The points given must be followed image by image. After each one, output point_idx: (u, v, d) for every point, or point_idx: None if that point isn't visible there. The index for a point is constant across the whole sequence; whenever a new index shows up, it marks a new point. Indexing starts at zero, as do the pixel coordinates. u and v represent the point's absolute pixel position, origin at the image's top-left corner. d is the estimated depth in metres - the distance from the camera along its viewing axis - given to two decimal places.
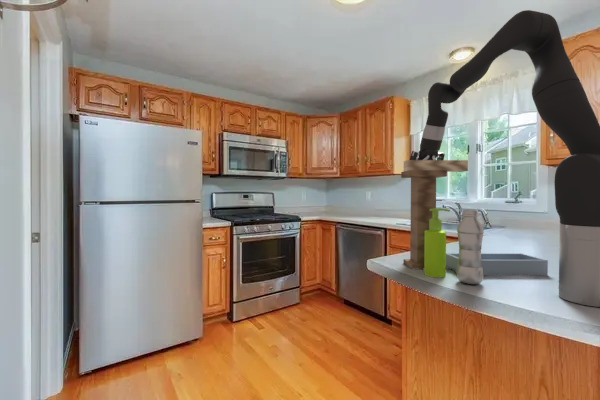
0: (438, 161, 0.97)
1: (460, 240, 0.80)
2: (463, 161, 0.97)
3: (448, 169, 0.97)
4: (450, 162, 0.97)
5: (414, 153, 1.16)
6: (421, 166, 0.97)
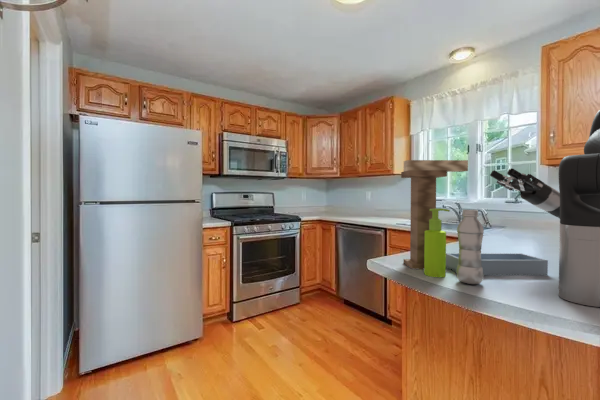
0: (438, 161, 0.97)
1: (460, 240, 0.80)
2: (463, 161, 0.97)
3: (448, 169, 0.97)
4: (450, 162, 0.97)
5: None
6: (421, 166, 0.97)
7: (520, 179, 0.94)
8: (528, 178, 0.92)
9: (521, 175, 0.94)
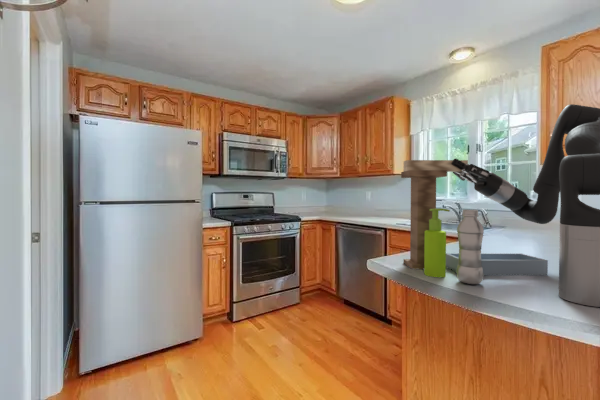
0: (438, 161, 0.97)
1: (460, 240, 0.80)
2: (463, 161, 0.97)
3: (448, 169, 0.97)
4: (450, 162, 0.97)
5: None
6: (421, 166, 0.97)
7: (463, 169, 0.96)
8: (470, 168, 0.94)
9: (464, 165, 0.96)
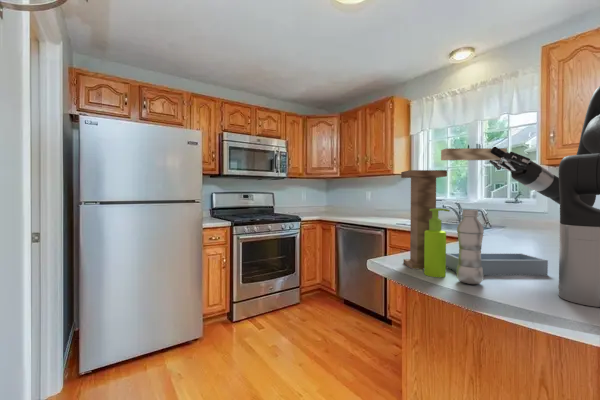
0: (477, 149, 0.97)
1: (460, 240, 0.80)
2: (502, 149, 0.97)
3: (487, 157, 0.97)
4: (489, 150, 0.97)
5: None
6: (460, 154, 0.97)
7: (502, 157, 0.96)
8: (510, 156, 0.94)
9: (504, 153, 0.96)
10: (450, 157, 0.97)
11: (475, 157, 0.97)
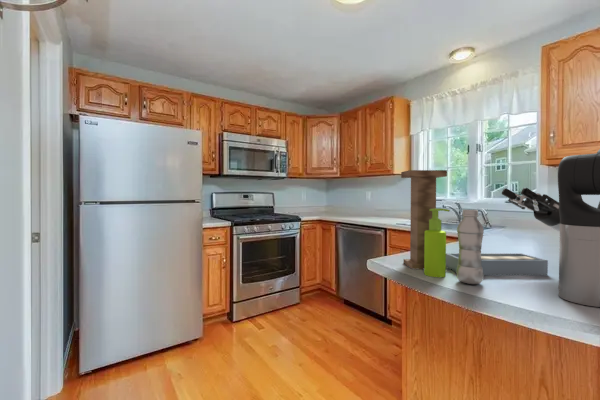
0: None
1: (460, 240, 0.80)
2: (529, 259, 0.91)
3: None
4: None
5: None
6: None
7: (535, 199, 0.88)
8: (544, 199, 0.86)
9: (536, 195, 0.88)
10: None
11: None
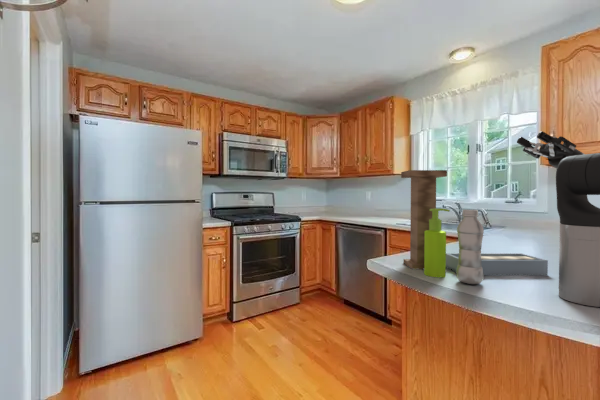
0: None
1: (460, 240, 0.80)
2: (529, 259, 0.91)
3: None
4: None
5: None
6: None
7: (551, 142, 0.91)
8: (560, 140, 0.89)
9: (552, 138, 0.90)
10: None
11: None
